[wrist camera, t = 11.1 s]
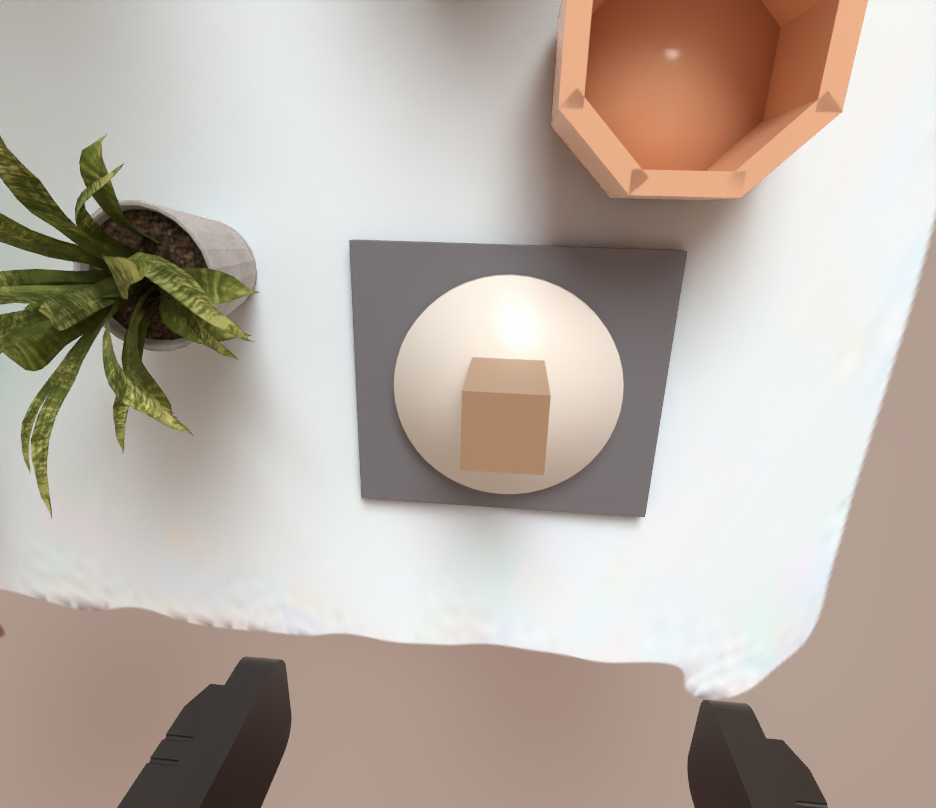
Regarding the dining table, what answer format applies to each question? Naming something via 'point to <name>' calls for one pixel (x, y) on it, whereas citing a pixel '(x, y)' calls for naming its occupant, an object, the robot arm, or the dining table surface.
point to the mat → (574, 268)
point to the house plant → (114, 294)
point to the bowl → (698, 89)
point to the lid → (508, 384)
